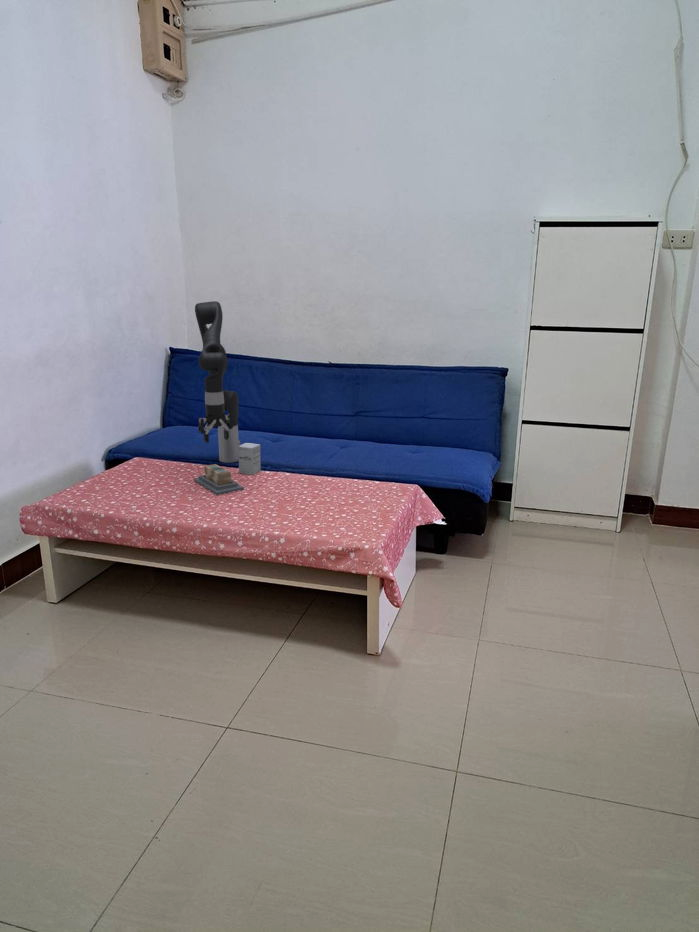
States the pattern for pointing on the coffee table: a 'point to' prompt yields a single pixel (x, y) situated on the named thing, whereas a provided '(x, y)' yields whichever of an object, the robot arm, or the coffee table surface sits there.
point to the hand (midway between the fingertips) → (216, 440)
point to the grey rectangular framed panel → (217, 486)
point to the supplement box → (249, 458)
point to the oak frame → (217, 474)
